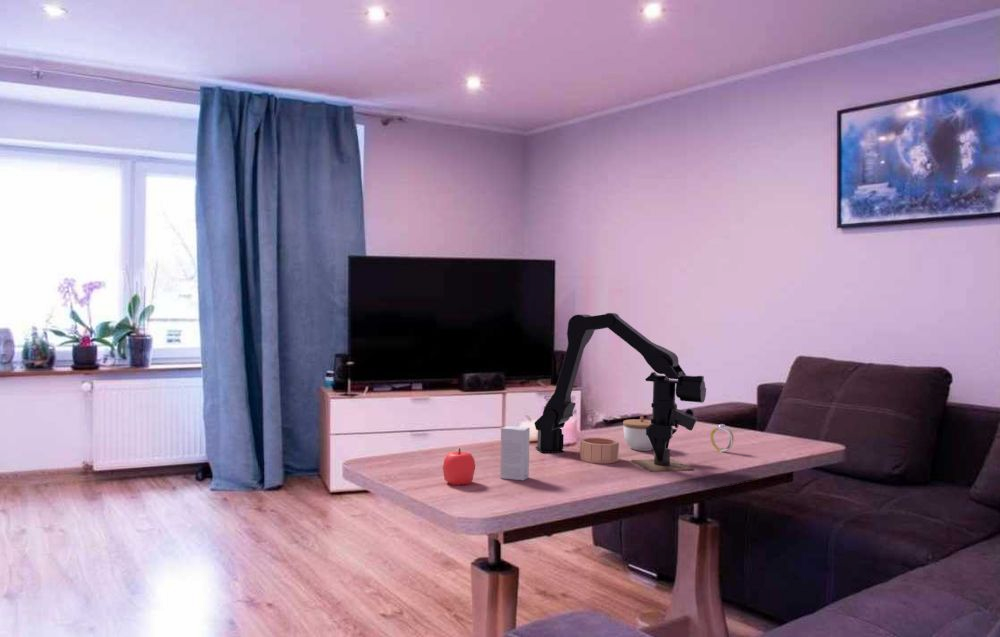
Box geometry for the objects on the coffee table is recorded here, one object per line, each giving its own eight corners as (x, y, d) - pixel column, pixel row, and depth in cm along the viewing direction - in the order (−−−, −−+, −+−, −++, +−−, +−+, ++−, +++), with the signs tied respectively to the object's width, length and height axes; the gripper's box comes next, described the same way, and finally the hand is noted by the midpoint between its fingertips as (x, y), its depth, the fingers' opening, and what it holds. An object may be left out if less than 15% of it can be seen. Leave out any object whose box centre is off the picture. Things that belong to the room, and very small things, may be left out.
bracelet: (708, 450, 216) (709, 423, 216) (715, 449, 218) (716, 422, 218) (727, 454, 211) (728, 426, 210) (735, 453, 212) (735, 425, 212)
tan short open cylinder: (588, 464, 193) (588, 445, 193) (575, 456, 203) (575, 437, 203) (623, 463, 196) (624, 444, 195) (609, 455, 205) (610, 437, 205)
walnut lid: (650, 473, 186) (651, 454, 186) (631, 463, 198) (631, 445, 198) (693, 472, 189) (694, 453, 189) (672, 462, 201) (672, 444, 201)
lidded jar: (663, 453, 211) (664, 420, 210) (625, 451, 211) (626, 419, 211) (655, 445, 221) (656, 414, 221) (620, 444, 221) (620, 413, 221)
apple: (448, 488, 165) (449, 452, 165) (436, 480, 172) (437, 445, 172) (481, 485, 168) (482, 450, 168) (468, 477, 175) (469, 444, 175)
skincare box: (529, 477, 177) (530, 427, 177) (523, 481, 173) (525, 430, 173) (505, 474, 179) (506, 425, 179) (499, 478, 175) (500, 428, 175)
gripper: (692, 406, 182) (690, 469, 182) (698, 397, 199) (696, 455, 200) (646, 402, 186) (644, 464, 186) (656, 394, 203) (655, 451, 203)
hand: (662, 458), depth 194 cm, fingers open, 7 cm apart
